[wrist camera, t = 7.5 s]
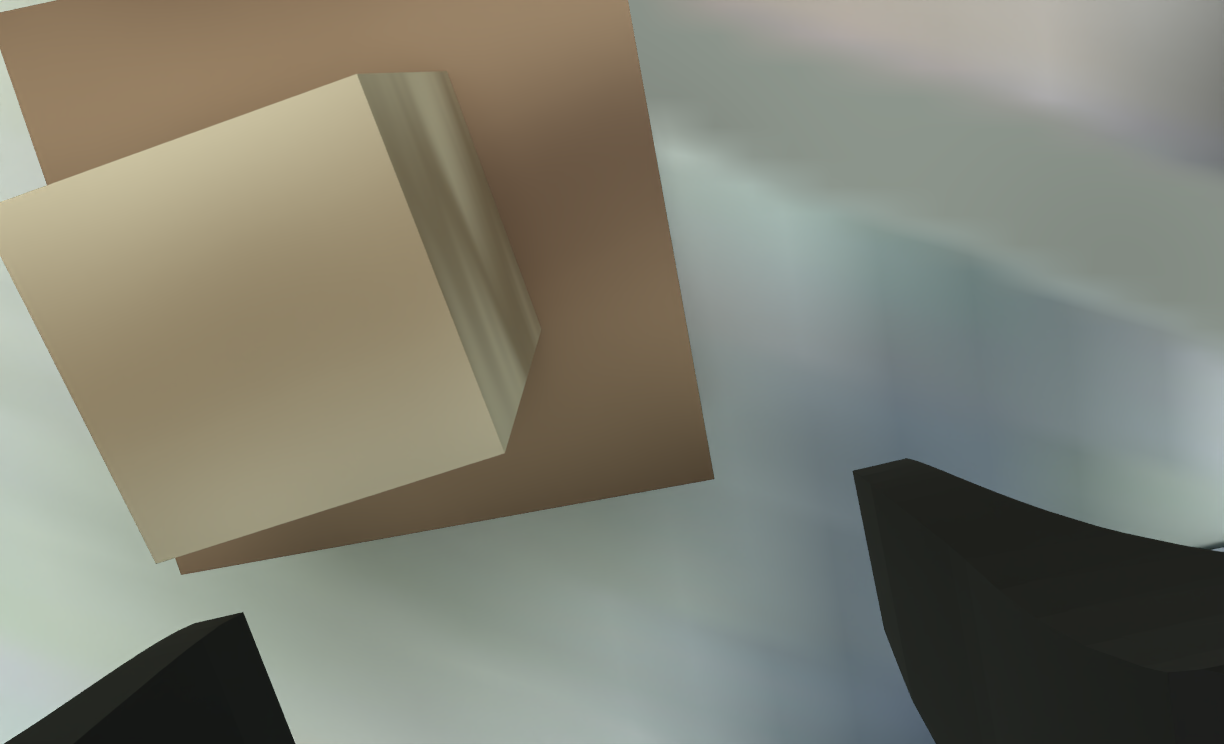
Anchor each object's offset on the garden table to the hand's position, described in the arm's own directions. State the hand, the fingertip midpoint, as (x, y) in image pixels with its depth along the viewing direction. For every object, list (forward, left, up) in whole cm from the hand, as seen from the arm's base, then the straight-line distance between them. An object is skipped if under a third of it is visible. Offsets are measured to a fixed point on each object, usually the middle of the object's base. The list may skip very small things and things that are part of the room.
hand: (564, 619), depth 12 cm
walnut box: (+4, +3, -11) cm, 12 cm away
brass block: (+4, +3, -7) cm, 8 cm away
